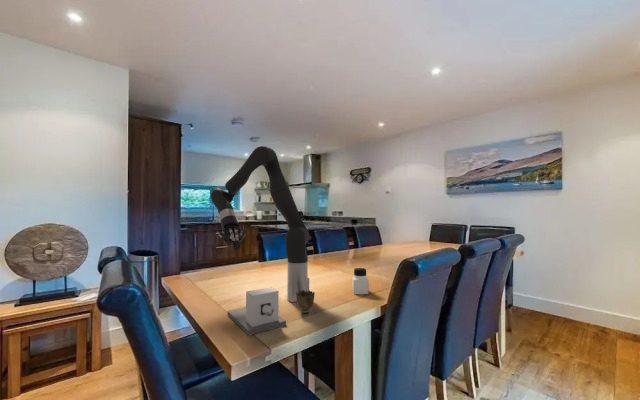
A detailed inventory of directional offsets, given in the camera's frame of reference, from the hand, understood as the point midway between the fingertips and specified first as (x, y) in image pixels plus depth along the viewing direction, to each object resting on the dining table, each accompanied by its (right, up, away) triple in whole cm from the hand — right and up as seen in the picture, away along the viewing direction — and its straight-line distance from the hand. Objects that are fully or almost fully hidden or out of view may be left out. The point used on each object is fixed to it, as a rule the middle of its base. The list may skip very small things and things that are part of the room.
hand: (237, 249), depth 122 cm
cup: (+30, -24, -11) cm, 40 cm away
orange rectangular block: (+16, -21, -23) cm, 35 cm away
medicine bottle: (+56, -25, +17) cm, 64 cm away
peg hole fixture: (+12, -23, -18) cm, 32 cm away
